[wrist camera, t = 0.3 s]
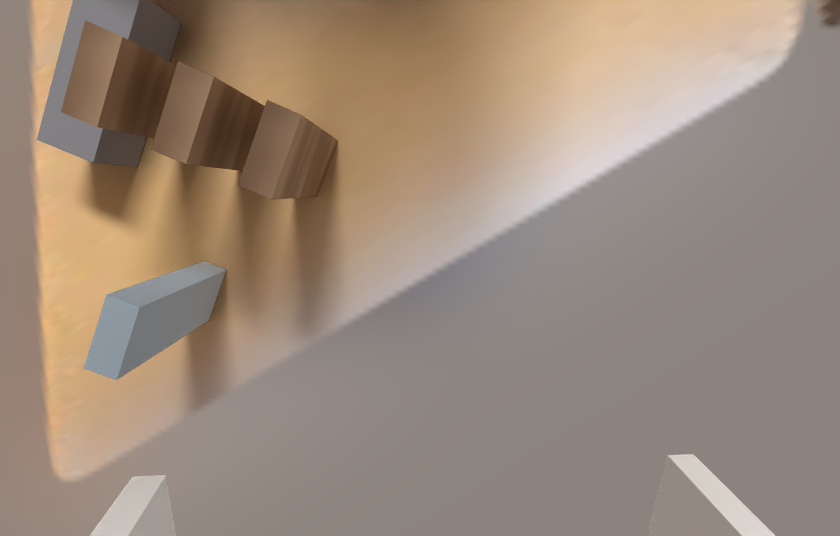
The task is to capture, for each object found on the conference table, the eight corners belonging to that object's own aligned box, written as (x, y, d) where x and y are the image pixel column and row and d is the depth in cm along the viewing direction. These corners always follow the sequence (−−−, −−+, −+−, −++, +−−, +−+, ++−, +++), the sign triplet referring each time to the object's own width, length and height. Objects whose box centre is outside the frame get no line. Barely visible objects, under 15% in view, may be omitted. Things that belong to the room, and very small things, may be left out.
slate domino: (226, 269, 37) (139, 307, 25) (208, 320, 37) (116, 380, 26) (204, 261, 36) (106, 294, 25) (186, 312, 37) (83, 368, 25)
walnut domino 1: (222, 90, 34) (122, 36, 22) (203, 148, 35) (97, 127, 23) (198, 79, 34) (85, 20, 22) (179, 138, 35) (60, 112, 23)
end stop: (181, 22, 33) (141, -7, 28) (137, 166, 35) (93, 162, 30) (131, 0, 33) (81, -34, 28) (90, 146, 34) (36, 139, 30)
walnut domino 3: (337, 140, 35) (301, 115, 23) (316, 196, 36) (271, 199, 24) (315, 130, 35) (267, 100, 23) (294, 187, 36) (237, 185, 24)
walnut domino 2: (280, 115, 34) (214, 76, 23) (260, 172, 35) (185, 164, 23) (257, 105, 34) (178, 60, 22) (237, 163, 35) (151, 149, 23)
